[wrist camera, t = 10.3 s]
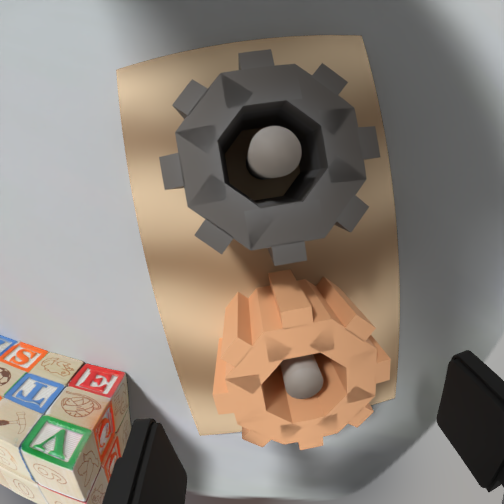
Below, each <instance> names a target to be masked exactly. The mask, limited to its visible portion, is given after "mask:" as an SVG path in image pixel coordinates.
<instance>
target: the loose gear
mask: <svg viewBox="0 0 504 504" xmlns="http://www.w3.org/2000/svg"><path fill="white" fill-rule="evenodd" d="M268 274H269V281H270V286H264V287H258V288H256V289H255V291H254V292H253V293H252V295H251V296H250V297H249V298H247V297H245V296H244V295H242V294H241V293H239V292H237V293H236V295H235V296H234V298H233V299H232V300H231V302H230V303H229V304H228V306H227V307H226V309H225V319H224V328H223V338H219V343H218V351H217V360H216V368H215V377H214V385H213V394H212V395H213V398H214V402H215V405H216V408H217V411H218V414H219V415H220V414H229V413H234V414H235V418H236V421H237V424H238V425H240V426H242V439H244V440H246V441H249V442H251V443H253V444H256V445H258V446H260V447H264V446H265V445H266V444H267V443H268V442H269V441H270V440H274V441H276V442H279V443H281V444H289V443H295V442H298V444H299V448H300V450H304V449H309V448H314V447H318V446H323V437H324V436H328V435H332V434H336V433H338V432H339V431H340V430H342V429H343V428H344V427H345V426H346V425H347V424H350V425H352V426H355V427H358V426H360V425H361V424H362V423H363V422H364V421H365V420H366V419H367V418H368V417H369V416H370V415H371V414H372V413H373V412H374V411H373V409H372V407H371V405H370V404H369V402H370V401H371V400H372V399H373V398H374V397H375V393H376V384H377V383H381V382H384V381H387V380H390V365H391V359H390V357H389V356H388V355H387V354H386V352H385V351H384V350H383V349H382V348H381V346H380V345H379V344H378V343H377V341H376V340H375V339H374V338H373V337H372V335H371V334H372V332H373V331H374V330H375V329H376V328H375V326H374V325H373V324H372V323H371V322H370V321H369V320H368V319H367V318H366V316H365V315H364V314H363V313H362V312H361V311H360V310H359V309H358V308H357V306H356V305H355V304H354V303H353V302H352V301H351V300H350V299H349V298H348V297H347V296H346V294H345V293H344V292H343V291H342V290H341V289H340V288H339V287H338V286H336V285H335V284H334V283H332V282H331V281H329V280H328V279H327V278H325V277H324V276H323V277H322V279H321V280H320V281H319V283H318V284H317V285H316V286H315V285H313V284H312V283H310V282H309V281H307V280H306V279H303V280H296V278H295V277H294V275H293V273H292V272H291V270H290V269H288V270H283V271H277V272H271V273H268ZM310 354H313V355H314V357H315V360H316V362H317V365H318V367H319V369H320V372H321V374H322V377H323V386H322V388H321V390H320V391H319V392H318V393H317V394H316V395H314V396H312V397H310V398H306V399H296V398H293V397H291V396H290V395H289V394H288V393H287V392H286V389H285V384H284V380H283V375H282V371H281V366H280V363H281V362H282V361H283V360H285V359H290V358H295V357H301V356H306V355H310Z"/></svg>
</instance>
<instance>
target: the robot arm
mask: <svg viewBox="0 0 504 504" xmlns="http://www.w3.org/2000/svg"><path fill="white" fill-rule="evenodd" d="M437 423H438V425H439V427H440V428H441V430H442V431H443V433H444V434H445V435H446V437H447V438H448V440H449V441H450V443H451V444H452V445H453V447H454V448H455V450H456V451H457V452H458V454H459V455H460V456H461V458H462V460H463V461H464V463H465V464H466V465H467V467H468V468H469V470H470V471H471V473H472V474H473V476H474V477H475V479H476V480H477V482H478V483H479V485H480V486H481V487H483V488H486V489H487V490H488V492H490V491H492V490H494V489H495V488H497V487H498V486H500V485H501V484H502V485H503V487H504V381H503V380H502V379H501V378H500V377H499V376H498V375H497V374H496V373H494V372H493V371H492V370H491V369H490V368H489V367H488V366H487V365H486V364H484V363H483V362H482V361H481V360H480V359H479V358H478V357H477V356H475V355H474V354H473V353H472V352H471V351H469V350H466V351H464V352H462V353H459V354H457V355H454V356H453V357H452V360H451V361H450V362H449V364H448V369H447V375H446V380H445V384H444V389H443V393H442V398H441V402H440V406H439V410H438V414H437ZM186 486H187V475H186V472H185V470H184V468H183V466H182V464H181V462H180V460H179V459H178V457H177V455H176V453H175V451H174V449H173V447H172V445H171V443H170V441H169V439H168V437H167V435H166V433H165V431H164V429H163V427H162V425H161V424H160V423H156V421H155V420H154V419H136V420H135V421H134V423H133V426H132V429H131V431H130V434H129V437H128V440H127V443H126V446H125V449H124V452H123V455H122V457H119V458H118V459H117V460H116V462H115V465H114V468H113V471H112V474H111V477H110V480H109V483H108V486H107V489H106V492H105V495H104V499H103V502H102V504H184V503H185V494H186ZM502 504H504V495H503V500H502Z"/></svg>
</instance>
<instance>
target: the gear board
mask: <svg viewBox="0 0 504 504" xmlns="http://www.w3.org/2000/svg"><path fill="white" fill-rule="evenodd" d="M116 72H117V84H118V95H119V105H120V114H121V123H122V131H123V138H124V146H125V152H126V159H127V166H128V172H129V178H130V184H131V190H132V195H133V201H134V206H135V211H136V216H137V221H138V226H139V231H140V236H141V240H142V245H143V249H144V254H145V258H146V262H147V267H148V271H149V275H150V279H151V283H152V287H153V291H154V295H155V298H156V302H157V306H158V310H159V313H160V317H161V320H162V324H163V327H164V331H165V334H166V338H167V341H168V344H169V348H170V351H171V354H172V357H173V361H174V364H175V367H176V370H177V373H178V376H179V379H180V382H181V385H182V388H183V391H184V394H185V397H186V399H187V402H188V405H189V408H190V411H191V413H192V416H193V419H194V421H195V424H196V427H197V429H198V432H199V434H200V436H201V435H214V434H225V433H234V432H242V426H240V425H238V424H237V421H236V418H235V414H234V413H229V414H220V415H219V414H218V411H217V408H216V405H215V402H214V398H213V395H212V394H213V385H214V377H215V368H216V360H217V351H218V343H219V338H223V328H224V319H225V309H226V307H227V306H228V304H229V303H230V302H231V300H232V299H233V298H234V296H235V295H236V293H237V292H239V293H241V294H242V295H244V296H245V297H247V298H249V297H250V296H251V295H252V293H253V292H254V291H255V289H256V288H258V287H264V286H270V281H269V274H268V273H271V272H277V271H283V270H288V269H290V270H291V272H292V273H293V275H294V277H295V278H296V280H303V279H306V280H307V281H309V282H310V283H312V284H313V285H315V286H316V285H317V284H318V283H319V281H320V280H321V279H322V277H323V276H324V277H325V278H327V279H328V280H329V281H331V282H332V283H334V284H335V285H336V286H338V287H339V288H340V289H341V290H342V291H343V292H344V293H345V294H346V296H347V297H348V298H349V299H350V300H351V301H352V302H353V303H354V304H355V305H356V306H357V308H358V309H359V310H360V311H361V312H362V313H363V314H364V315H365V316H366V318H367V319H368V320H369V321H370V322H371V323H372V324H373V325H374V326H375V328H376V329H375V330H374V331H373V332H372V334H371V335H372V337H373V338H374V339H375V340H376V341H377V343H378V344H379V345H380V346H381V348H382V349H383V350H384V351H385V352H386V354H387V355H388V356H389V357H390V359H391V365H390V380H387V381H384V382H381V383H377V384H376V393H375V397H374V398H373V399H372V400H371V401H370V402H369V404H370V405H374V404H377V403H380V402H384V401H387V400H390V399H393V398H395V393H396V382H397V368H398V351H399V321H400V287H399V257H398V239H397V226H396V214H395V204H394V194H393V186H392V178H391V170H390V163H389V156H388V150H387V144H386V138H385V132H384V127H383V121H382V116H381V111H380V106H379V102H378V97H377V93H376V88H375V84H374V80H373V76H372V72H371V68H370V64H369V60H368V56H367V53H366V49H365V46H364V42H363V39H362V36H357V35H312V36H291V37H277V38H266V39H257V40H248V41H241V42H233V43H227V44H220V45H215V46H209V47H203V48H198V49H193V50H189V51H184V52H179V53H175V54H171V55H167V56H163V57H159V58H155V59H151V60H147V61H144V62H140V63H137V64H133V65H130V66H127V67H123V68H120V69H117V70H116ZM280 366H281V371H282V375H283V380H284V384H285V389H286V392H287V393H288V394H289V395H290V396H291V397H293V398H296V399H306V398H310V397H312V396H314V395H316V394H317V393H318V392H319V391H320V390H321V388H322V386H323V377H322V374H321V372H320V369H319V367H318V365H317V362H316V360H315V357H314V355H313V354H310V355H306V356H301V357H295V358H290V359H285V360H283V361H282V362H281V363H280Z"/></svg>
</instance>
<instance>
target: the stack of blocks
mask: <svg viewBox="0 0 504 504" xmlns="http://www.w3.org/2000/svg"><path fill="white" fill-rule="evenodd" d="M130 431H131V424H130V414H129V398H128V387H127V378H126V373H125V372H121V371H116V370H112V369H107V368H103V367H99V366H95V365H90V364H85V363H84V362H83V361H80V360H76V359H73V358H69V357H66V356H63V355H59V354H56V353H50V352H48V351H46V350H43V349H40V348H37V347H34V346H31V345H29V344H25V343H23V342H17V341H15V340H12V339H9V338H7V337H4V336H1V335H0V484H2V485H3V486H5V487H7V488H9V489H11V490H13V491H14V492H15V493H17V494H19V495H21V496H23V497H25V498H27V499H29V500H31V501H33V502H35V503H37V504H102V502H103V499H104V495H105V492H106V489H107V486H108V483H109V480H110V477H111V474H112V471H113V468H114V465H115V462H116V460H117V459H118V458H119V457H122V455H123V452H124V449H125V446H126V443H127V440H128V437H129V434H130Z"/></svg>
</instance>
